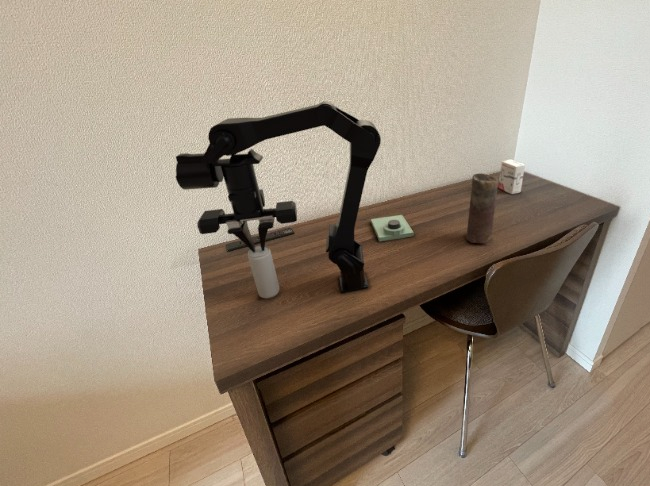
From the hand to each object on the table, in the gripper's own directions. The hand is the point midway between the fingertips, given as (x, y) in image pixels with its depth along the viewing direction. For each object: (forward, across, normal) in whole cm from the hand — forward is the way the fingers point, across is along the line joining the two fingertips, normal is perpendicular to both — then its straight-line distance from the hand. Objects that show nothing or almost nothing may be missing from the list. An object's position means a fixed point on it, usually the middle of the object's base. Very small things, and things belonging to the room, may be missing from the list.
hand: (258, 250), depth 71 cm
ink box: (+12, -91, -40) cm, 100 cm away
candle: (+12, -60, -8) cm, 62 cm away
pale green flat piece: (+12, -36, -22) cm, 44 cm away
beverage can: (+12, 0, 0) cm, 12 cm away
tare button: (+9, -36, -19) cm, 41 cm away
